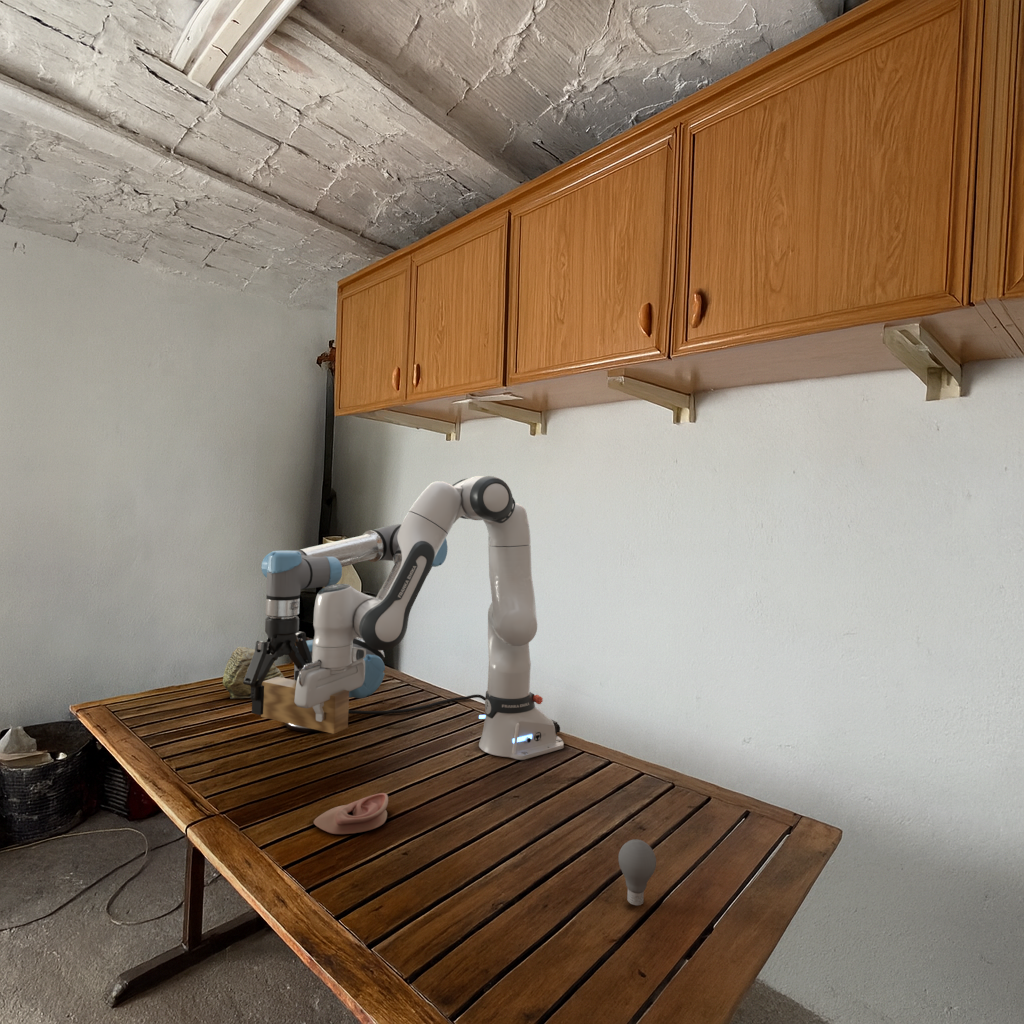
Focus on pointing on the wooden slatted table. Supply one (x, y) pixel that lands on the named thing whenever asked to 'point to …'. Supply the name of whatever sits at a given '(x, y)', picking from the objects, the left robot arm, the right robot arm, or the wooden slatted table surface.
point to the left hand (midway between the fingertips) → (279, 705)
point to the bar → (285, 710)
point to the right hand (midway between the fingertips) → (330, 716)
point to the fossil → (242, 673)
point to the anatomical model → (355, 816)
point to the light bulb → (636, 868)
